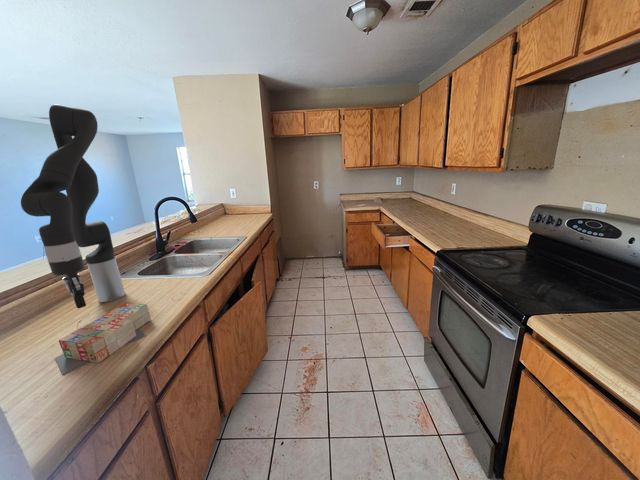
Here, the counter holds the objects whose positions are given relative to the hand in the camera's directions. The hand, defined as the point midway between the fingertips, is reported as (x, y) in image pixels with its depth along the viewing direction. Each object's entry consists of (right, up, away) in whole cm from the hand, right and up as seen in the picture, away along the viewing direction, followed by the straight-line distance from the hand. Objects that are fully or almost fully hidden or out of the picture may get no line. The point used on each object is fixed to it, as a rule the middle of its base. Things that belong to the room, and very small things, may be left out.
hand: (81, 306), depth 85 cm
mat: (+11, -11, -5) cm, 16 cm away
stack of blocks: (+6, -7, -1) cm, 9 cm away
